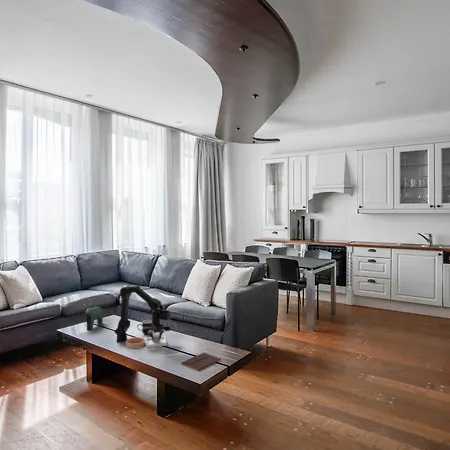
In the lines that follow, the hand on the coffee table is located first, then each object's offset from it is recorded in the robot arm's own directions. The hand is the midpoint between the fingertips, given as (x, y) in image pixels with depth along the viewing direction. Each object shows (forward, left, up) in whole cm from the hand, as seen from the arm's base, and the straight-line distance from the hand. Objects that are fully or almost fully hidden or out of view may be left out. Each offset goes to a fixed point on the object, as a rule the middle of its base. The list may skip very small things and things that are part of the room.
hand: (156, 340), depth 254 cm
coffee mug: (-5, +24, -3) cm, 25 cm away
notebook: (+24, -37, -4) cm, 45 cm away
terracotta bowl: (-14, +3, -3) cm, 15 cm away
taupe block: (0, +6, -2) cm, 7 cm away
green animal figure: (-45, +55, -3) cm, 71 cm away
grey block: (0, 0, -1) cm, 1 cm away
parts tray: (0, +3, -3) cm, 4 cm away
